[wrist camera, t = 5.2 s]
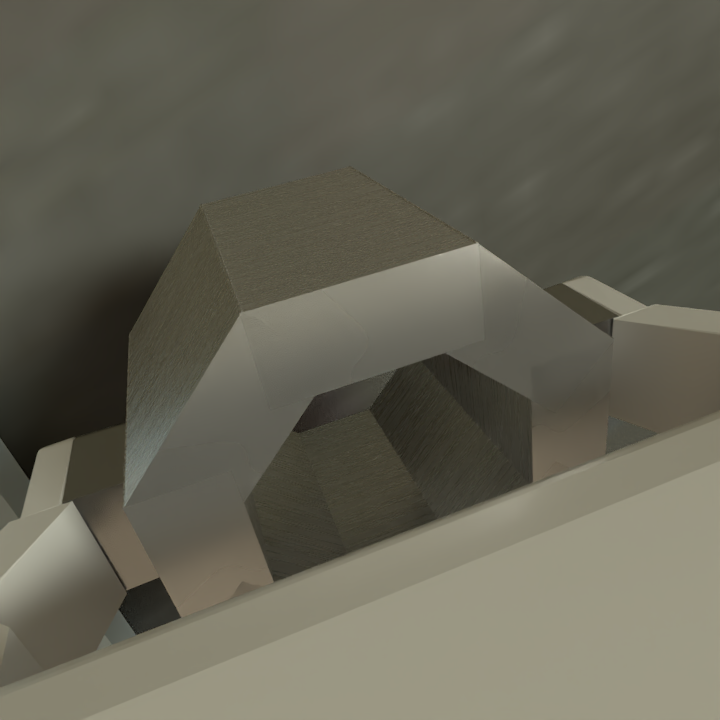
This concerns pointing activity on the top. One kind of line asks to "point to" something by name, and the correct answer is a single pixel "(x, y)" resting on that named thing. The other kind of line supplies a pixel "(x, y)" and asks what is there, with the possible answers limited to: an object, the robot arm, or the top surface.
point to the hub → (339, 384)
